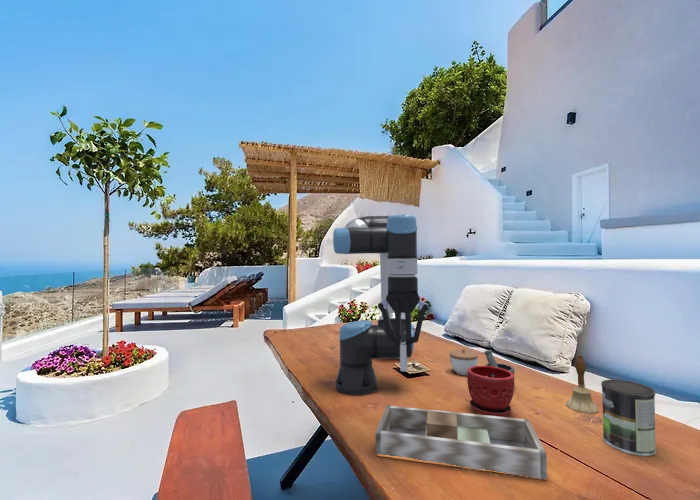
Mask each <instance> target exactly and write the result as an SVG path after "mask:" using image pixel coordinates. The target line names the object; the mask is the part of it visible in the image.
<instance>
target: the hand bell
mask: <svg viewBox="0 0 700 500" xmlns="http://www.w3.org/2000/svg"><path fill="white" fill-rule="evenodd" d="M574 362H575V365H574V367H575V371H576V373H577V386H575V387H573V388H572V393H571V398H570V399H569V400H568V401H566V403H565V404H566V405H565V406H566V407H568V408H569V409H570V410H572V411H576V412H578V413H584V414H597V413H599V412H600V411H599V407H598V406H597V405H596V404H595V403H594V401H593V398H592V393H591V391H590V389H588V388H586V385H585V384H586V383H585V373H586V362H585V360H584V357H583V354H577V356H576V359H575V361H574Z"/></svg>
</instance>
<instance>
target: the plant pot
mask: <svg viewBox="0 0 700 500" xmlns="http://www.w3.org/2000/svg"><path fill="white" fill-rule="evenodd" d="M491 374H494V375H495V376H494V377H492V376H491ZM466 376H467V377H466V378H467V379H466V381H467V386H468V387H467V389H468V393H469V396H470V399H471V400H469V406H470V408H471V409H472V410H473V411H474V412H475V413H477V414H478V415H488V416H498V417H508V415H509V414H510V413H511V412H512V407H511V405H510V404H511V403H512V400H513V397H514V392H515V373H514V374H513V373H512V372H510V371H508V370H505V369H502V368H497V367H492V366H485V365H477V366H473V367H470V368H468V372H467V375H466ZM487 376H488V377H487ZM500 377H501V378H500Z"/></svg>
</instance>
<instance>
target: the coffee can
mask: <svg viewBox="0 0 700 500" xmlns="http://www.w3.org/2000/svg"><path fill="white" fill-rule="evenodd" d="M601 393H602V394H601V395H602V431H603V432H602V433H603V434H602V435H603V436H602V439H603V441H604V443H605V444H607V445H608V446H609V447H611V448H613V449H615V450H617V451H620V452H622V453H625V454H628V455H632V454H633V455H632V456H637V455H638V456H639V457H651V455H652V456H654V454H655V453H656V454H657V445H656V443H657V440H656V438H657V437H656V406H655V402H656V401H655V396H656V391H655V390H654V388H652V387H649V386H647V385H645V384H642V383H638V382H635V381H630V380H629V381H628V380H624V379H605V380H602V381H601ZM656 454H655V455H656ZM638 456H637V457H638Z"/></svg>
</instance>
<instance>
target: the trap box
mask: <svg viewBox="0 0 700 500" xmlns="http://www.w3.org/2000/svg"><path fill="white" fill-rule="evenodd" d="M428 411H437V412H446V413H456V416H457V437H458V440H456V439H447V438H439V437H431V436H427V425H426V423H427V414H428ZM376 453H377V454H382V455H390V456H399V457H407V458H413V459H418V460H423V461H430V462H438V463H446V464H450V465H456V466H461V467H468V468H473V469H485V470H491V471H497V472H504V473H510V474H516V475H522V476H528V477H535V478H539V479H538V480H542V479H547V480H548V463H547V459H548V457H547V452H546V450H545V447H544V446H543V444H542V442H541V440H540V438H539V436H538V435H537V432H536V430H535V429H534V427H533V425H532V423H531V420H530V419H526V418H519V417H518V418H516V417H508V416H504V417H498V416H488V415H481V414H479V413H477V414H476V413H475V414H474V413H466V412H458V411H457V412H455V411H448V410H438V409H437V410H436V409H428V408H427V409H424V408H417V407H406V406H398V405H385V408H384V410H383V413H382V416H381V418H380V420H379V423H378V426H377V428H376V430H375V454H376ZM528 477H527V478H528ZM535 478H534V479H535Z"/></svg>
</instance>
